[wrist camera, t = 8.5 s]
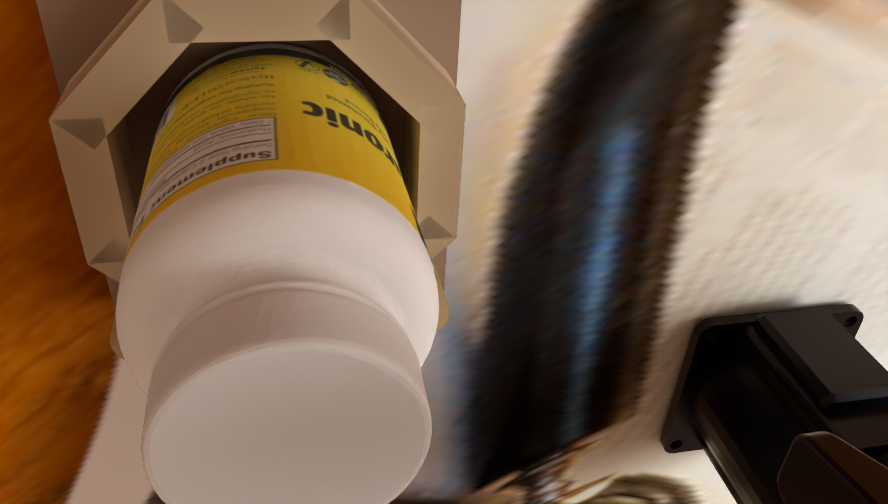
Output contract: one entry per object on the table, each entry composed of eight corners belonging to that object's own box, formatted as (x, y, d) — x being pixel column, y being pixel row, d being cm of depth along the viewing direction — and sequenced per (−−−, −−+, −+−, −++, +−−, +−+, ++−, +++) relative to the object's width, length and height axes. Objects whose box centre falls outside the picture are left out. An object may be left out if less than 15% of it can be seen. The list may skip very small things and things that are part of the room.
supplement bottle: (420, 182, 20) (528, 484, 12) (237, 268, 20) (223, 617, 12) (324, -7, 16) (385, 233, 9) (107, 99, 17) (-24, 423, 9)
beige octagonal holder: (437, 272, 23) (461, 347, 20) (122, 298, 21) (102, 383, 18) (455, -82, 17) (493, -46, 14) (28, -87, 15) (-21, -48, 13)
